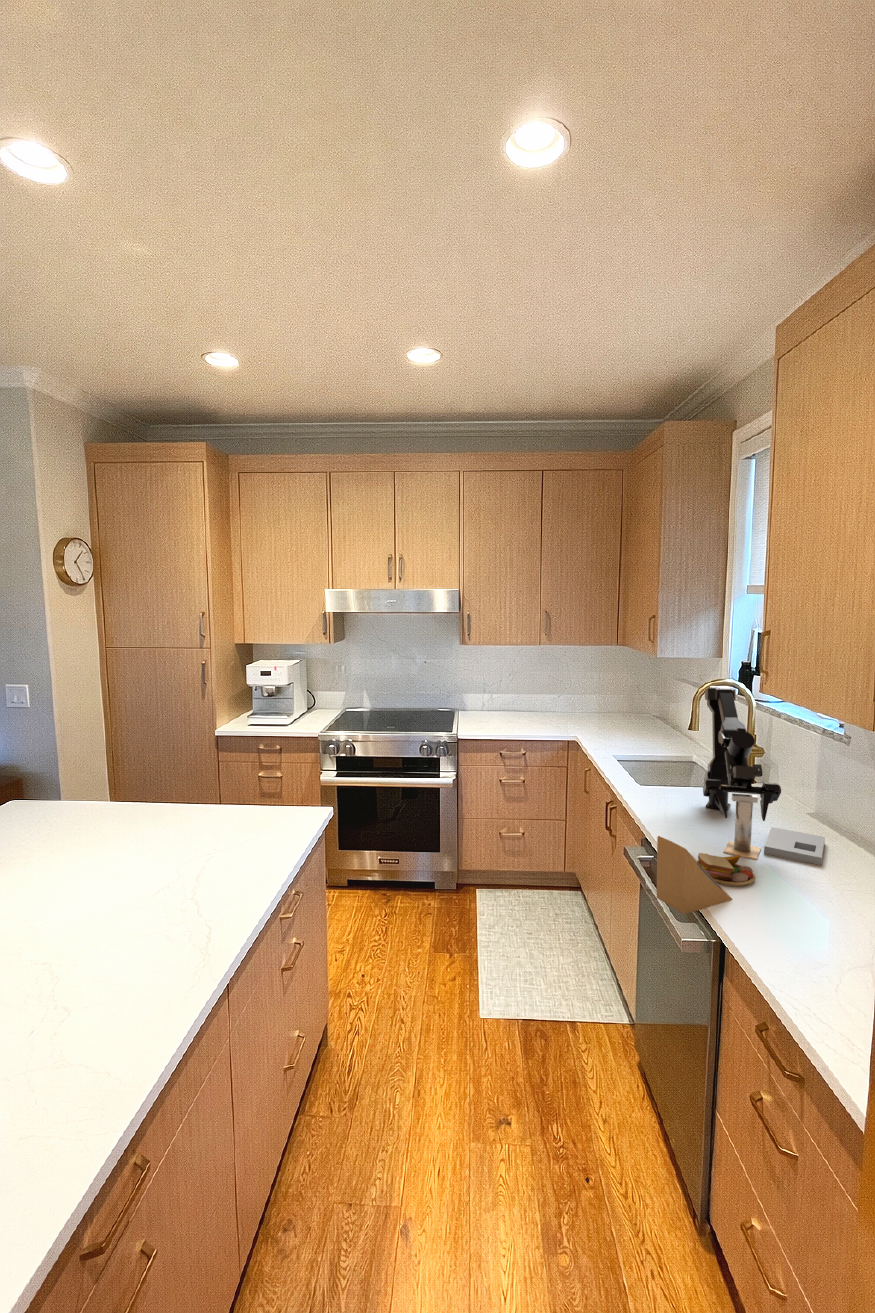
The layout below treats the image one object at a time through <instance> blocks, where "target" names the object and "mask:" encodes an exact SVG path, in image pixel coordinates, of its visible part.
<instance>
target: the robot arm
mask: <svg viewBox="0 0 875 1313" xmlns="http://www.w3.org/2000/svg"><path fill="white" fill-rule="evenodd" d="M736 692H737V690H736V689H734V688H732V687H730V686H723V685H722V686H721V685H718V686H717V685H716V686H715V685H709V686H708V688H705V691H704V699H705V700H706V706H707V708H708V709H709V711H710V712H711V714H712V717H711V718H712V719H711V720H712V721H711V722H712V724H711V725H712V758H711V760H710V762H709V763H708V765H707V770H706V771H705V774H704V777H703V787H702V794H703V796H704V797H708V801H707V803H706V804H705V808H709V809H714V810H719V811H720V812H721V814H722V815H723V817H724V818H725V819H727V818H728V811H729V809H730V807H731V803H729V793H732V794H747V795H759V796H760V801H759V803H760V805H759V806H760V814H761V815H760V816H761V820H762V822H765V821H766V817H767V813H768V809H769V804H773V803H774V802H777V801H778V800H779V798H780V796H781V793H782V787H781V785H780V784H779V783H777V782H766V781H765V782H763V783H762V785H761V786H753V784H755V780H756V777H757V778H761V777H763V773H764V772H763V767H762V766H763V765H762V764H761V763H760V764H759V763H758V764H757V763H756V764H755V763H754V764H753V765H751V766H750V764H749V757H750V756H751V753H752V750H753V748H754V745H755V743H756V741H755V737H754V736H753V735H752V734H751V733H750V732H748V731H747V728H746V726H745V724H744V723H743V722H741V721H740V720H739V717H738V711H737V708H736V707H737V706H736V703H735V701H736V695H737V694H736Z"/></svg>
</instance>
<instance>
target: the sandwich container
mask: <svg viewBox="0 0 875 1313" xmlns="http://www.w3.org/2000/svg"><path fill="white" fill-rule="evenodd" d="M656 839H657V842H656V843H657V844H656V845H657V846H656V898H657V899H658V900H660V901H662V903H663V902H664V903H665V904H666V905H668V906H670V907H671V908H673V909H675V910H677V912H679V913H681V914H683V915H686V914H689V913H693V912H696V911H701V910H704V909H707V908H710V907H714V906H716V905H720V904H723V903H726V902H730V901H733V898H732V897H731V895H729V894H728V893H727V892H726V891H725V890H724V889H723V888H722V886H720V884H718V883H717V882H716V881H715V880H714V879H713V878H712V877H711V876H710V875H709V874H708V873H707V872H706V871H705V870H704V868H703V867H702V866H701V865H700V864H699V863H698V862H697V861H698V860H697V859H696V858H695V857H694V856H693V855H692V854H691V852H690V851H689V850H688V849H687V848H685V847H684V846H681V845H680V844H678V843H676V842H674V841H672V840H669V839H668V838H665V837H662V836H660V835H658V836H657V838H656Z"/></svg>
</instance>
